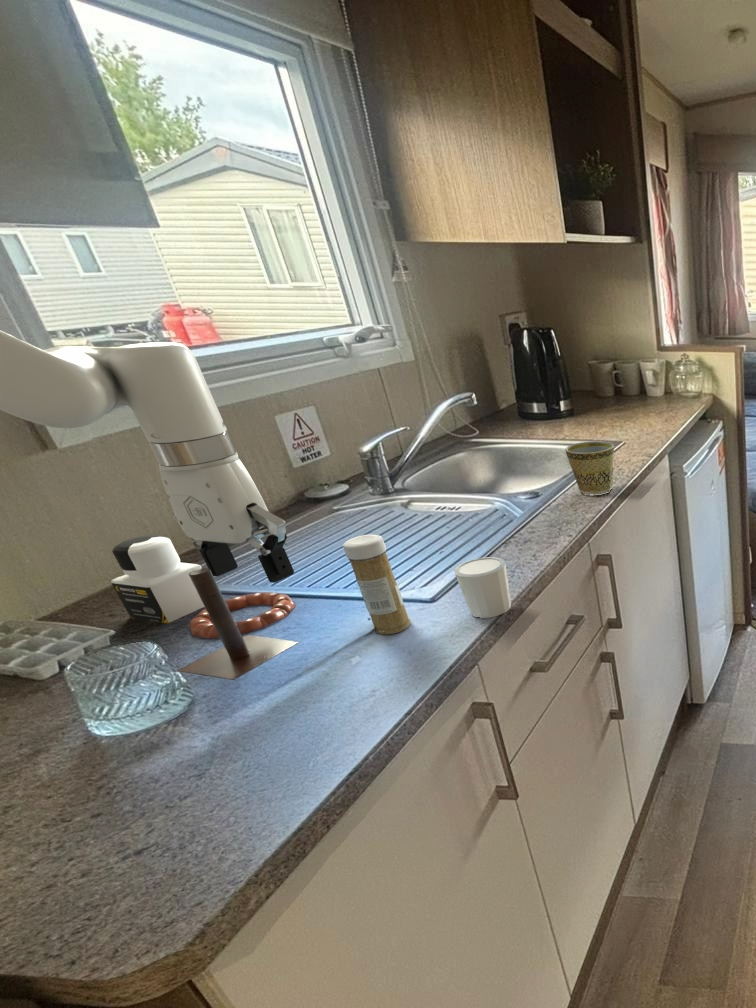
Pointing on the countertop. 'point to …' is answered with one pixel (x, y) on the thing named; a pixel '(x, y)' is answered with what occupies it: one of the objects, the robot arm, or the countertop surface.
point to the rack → (229, 637)
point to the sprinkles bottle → (377, 583)
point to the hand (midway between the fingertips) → (254, 575)
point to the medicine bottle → (155, 580)
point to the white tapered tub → (484, 586)
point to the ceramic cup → (592, 466)
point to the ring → (281, 609)
